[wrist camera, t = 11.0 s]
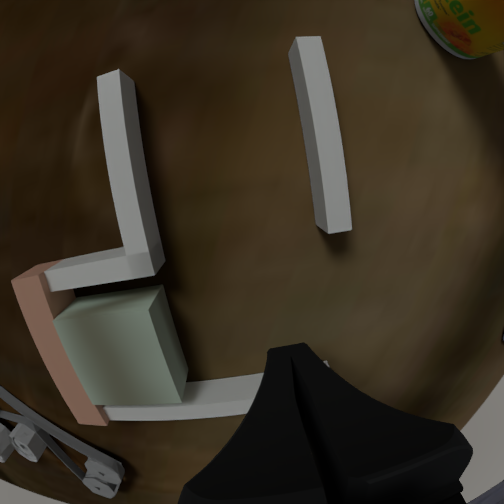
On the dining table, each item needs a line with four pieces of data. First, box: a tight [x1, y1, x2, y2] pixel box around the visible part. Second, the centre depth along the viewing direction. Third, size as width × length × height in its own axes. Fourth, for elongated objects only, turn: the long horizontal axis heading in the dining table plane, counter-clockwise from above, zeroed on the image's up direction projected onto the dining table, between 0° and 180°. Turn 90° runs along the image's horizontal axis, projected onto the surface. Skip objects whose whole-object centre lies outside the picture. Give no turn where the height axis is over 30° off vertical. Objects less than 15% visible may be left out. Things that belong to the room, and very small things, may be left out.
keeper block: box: [53, 284, 188, 405], centre depth 14 cm, size 5×5×3 cm
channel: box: [44, 36, 352, 421], centre depth 13 cm, size 14×16×2 cm
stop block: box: [11, 259, 109, 426], centre depth 13 cm, size 2×9×2 cm, turn 9°
